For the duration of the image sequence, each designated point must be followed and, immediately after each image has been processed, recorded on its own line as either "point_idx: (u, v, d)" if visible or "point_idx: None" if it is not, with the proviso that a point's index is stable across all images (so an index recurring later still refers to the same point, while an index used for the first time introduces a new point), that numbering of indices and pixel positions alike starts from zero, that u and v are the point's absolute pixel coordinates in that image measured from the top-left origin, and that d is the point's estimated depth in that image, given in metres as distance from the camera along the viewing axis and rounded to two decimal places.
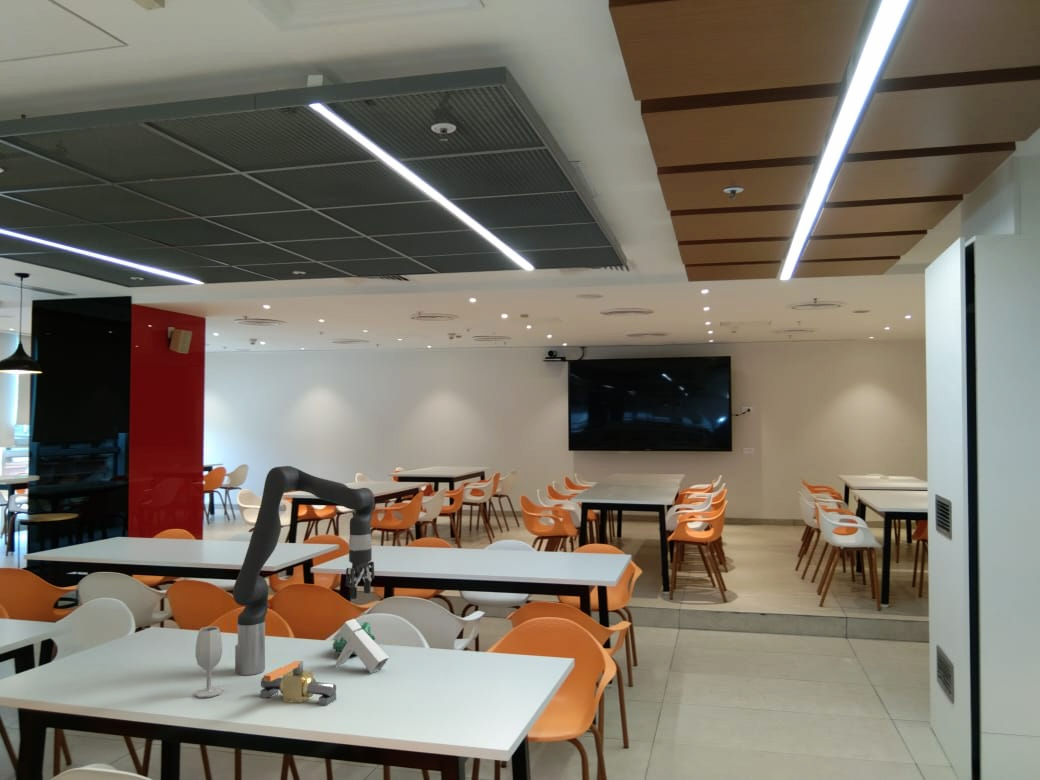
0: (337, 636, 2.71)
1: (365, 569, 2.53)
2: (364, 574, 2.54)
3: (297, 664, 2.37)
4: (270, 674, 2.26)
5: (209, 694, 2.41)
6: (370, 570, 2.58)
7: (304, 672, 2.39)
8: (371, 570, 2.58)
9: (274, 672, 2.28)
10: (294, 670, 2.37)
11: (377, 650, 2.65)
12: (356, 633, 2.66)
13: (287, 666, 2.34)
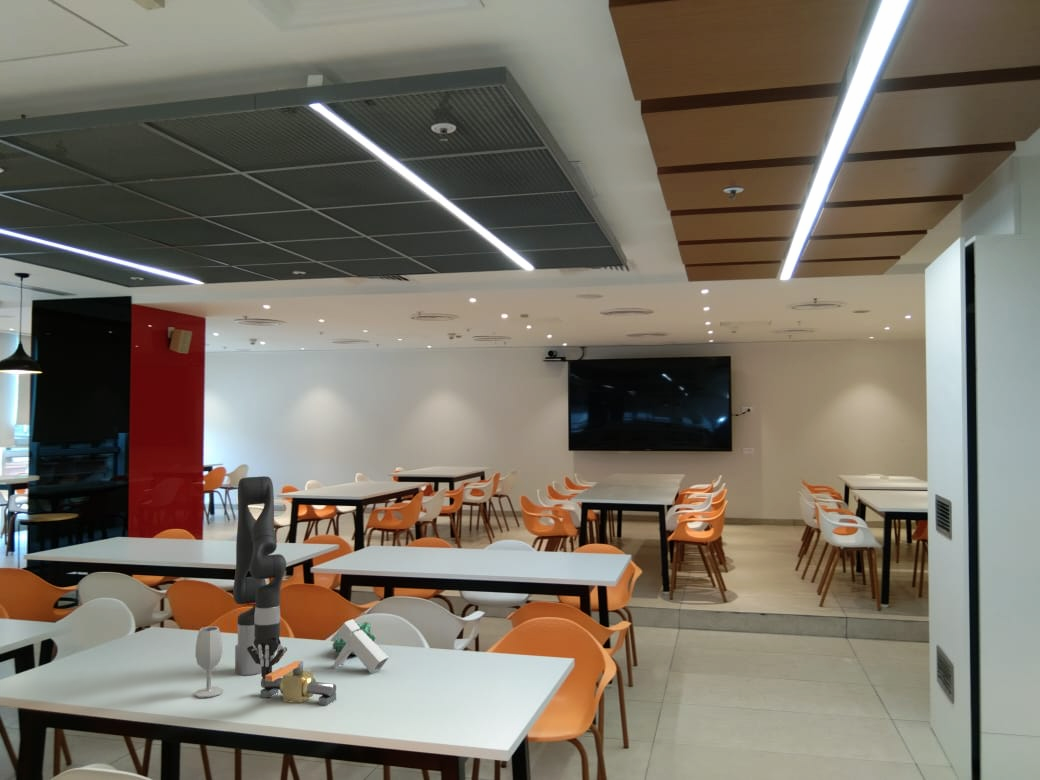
0: (335, 637, 2.70)
1: None
2: None
3: (297, 664, 2.37)
4: (271, 674, 2.26)
5: (209, 694, 2.41)
6: (257, 652, 2.30)
7: (304, 672, 2.39)
8: (257, 652, 2.31)
9: (275, 672, 2.28)
10: (294, 670, 2.37)
11: (377, 650, 2.65)
12: (355, 633, 2.66)
13: (288, 666, 2.34)
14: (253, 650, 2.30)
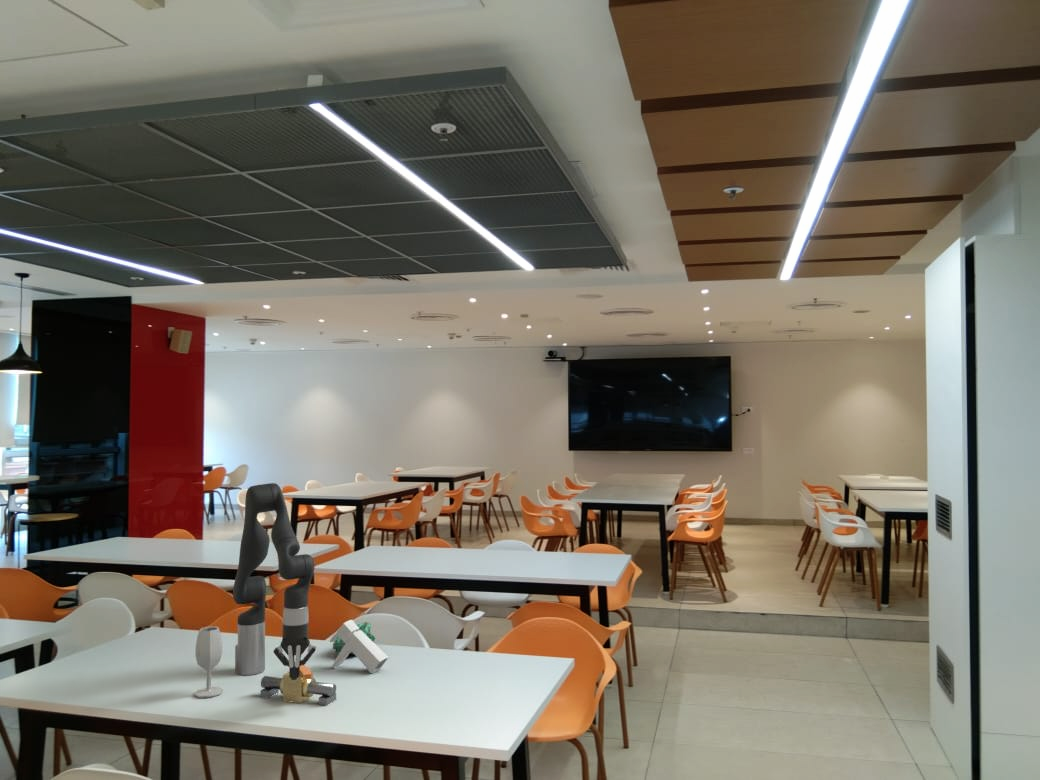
0: (334, 637, 2.70)
1: None
2: None
3: None
4: (307, 672, 2.27)
5: (209, 694, 2.41)
6: (282, 654, 2.28)
7: None
8: (283, 654, 2.28)
9: (306, 671, 2.29)
10: None
11: (377, 650, 2.65)
12: (355, 634, 2.66)
13: (301, 665, 2.34)
14: (280, 652, 2.27)
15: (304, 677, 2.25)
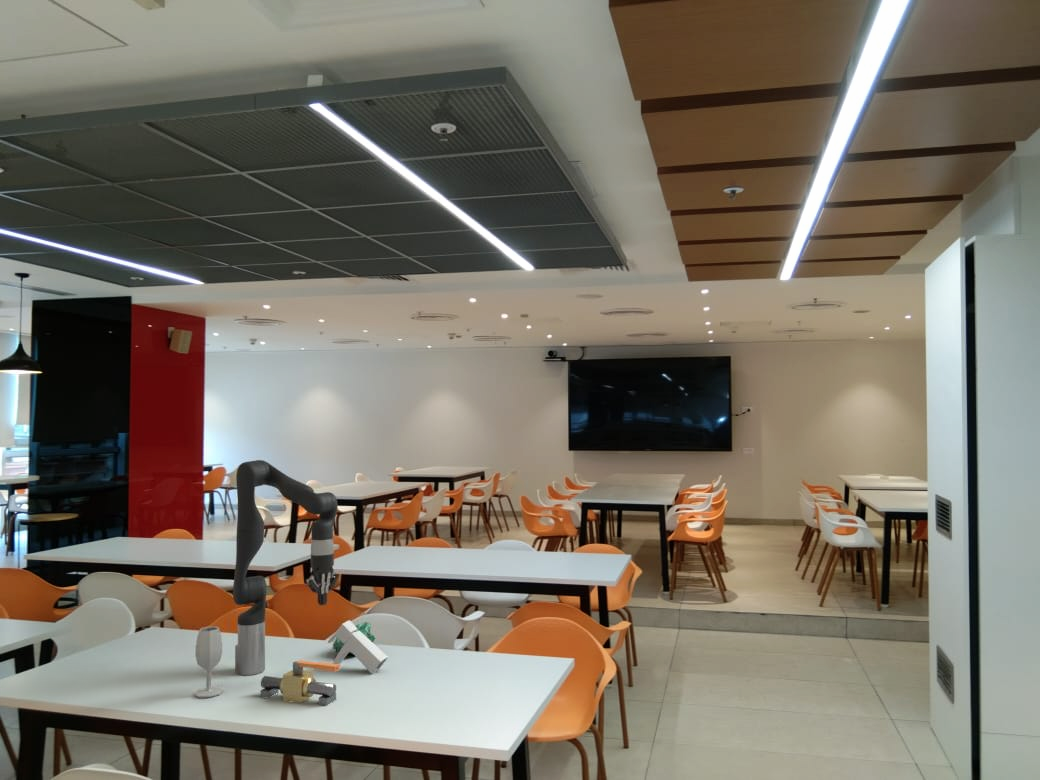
0: (332, 638, 2.68)
1: None
2: None
3: None
4: (334, 664, 2.34)
5: (209, 694, 2.41)
6: None
7: (304, 672, 2.39)
8: None
9: (329, 664, 2.35)
10: (301, 669, 2.38)
11: (376, 650, 2.64)
12: (354, 634, 2.65)
13: (311, 663, 2.37)
14: None
15: (335, 669, 2.33)
